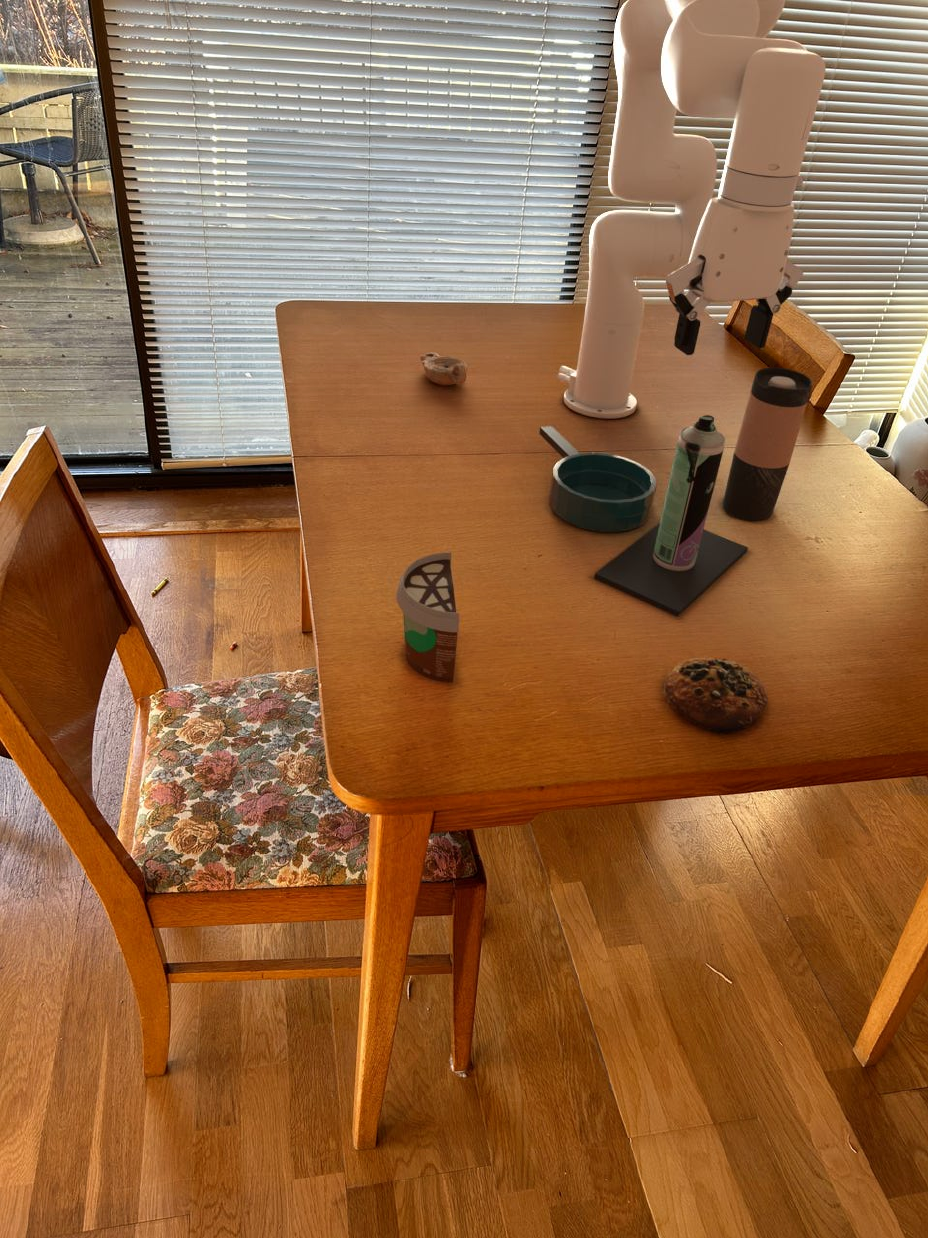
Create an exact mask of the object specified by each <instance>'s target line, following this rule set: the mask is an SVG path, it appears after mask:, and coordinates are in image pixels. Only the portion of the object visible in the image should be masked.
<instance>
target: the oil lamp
mask: <svg viewBox="0 0 928 1238" xmlns="http://www.w3.org/2000/svg"><path fill="white" fill-rule="evenodd" d="M419 359H420V361H421V363H422V366H423V370H424V372H425V375H426V377H427V378H428V379H429V380H430V381H431V382H432V383H434V384H437V385H440V386H451V385H455V384H456V385H459V384H464V383H466V382H467V371H468V365H467V364H466V363H465V362H464V361H463V360H461V359H459V358H455V357H452V356H451V355H447V356H441V355H439V352H426V353H423V354H422V355H420V357H419Z"/></svg>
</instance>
